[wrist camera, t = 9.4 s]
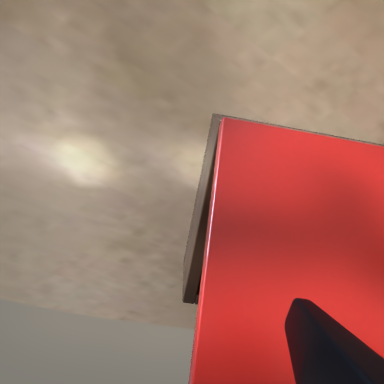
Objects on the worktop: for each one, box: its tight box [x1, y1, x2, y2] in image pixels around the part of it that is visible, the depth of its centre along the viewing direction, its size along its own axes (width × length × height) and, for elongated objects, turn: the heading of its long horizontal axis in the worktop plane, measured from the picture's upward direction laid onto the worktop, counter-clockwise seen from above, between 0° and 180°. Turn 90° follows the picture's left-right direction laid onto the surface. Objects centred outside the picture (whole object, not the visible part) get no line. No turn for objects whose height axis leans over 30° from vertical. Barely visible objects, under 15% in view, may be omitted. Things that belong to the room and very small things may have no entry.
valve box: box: [182, 113, 384, 304], centre depth 19 cm, size 12×16×5 cm
